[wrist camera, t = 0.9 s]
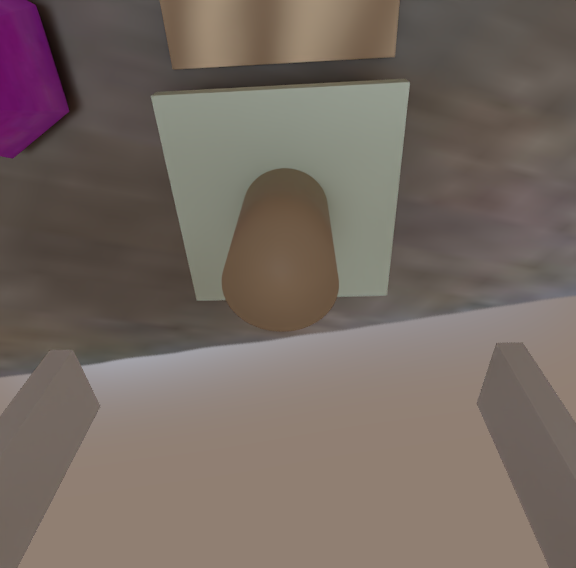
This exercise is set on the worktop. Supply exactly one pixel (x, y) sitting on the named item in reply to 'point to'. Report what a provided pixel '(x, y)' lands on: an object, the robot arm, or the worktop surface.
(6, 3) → the magenta low-poly plum
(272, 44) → the mat
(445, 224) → the worktop surface
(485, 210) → the worktop surface
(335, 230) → the lid
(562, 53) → the worktop surface
